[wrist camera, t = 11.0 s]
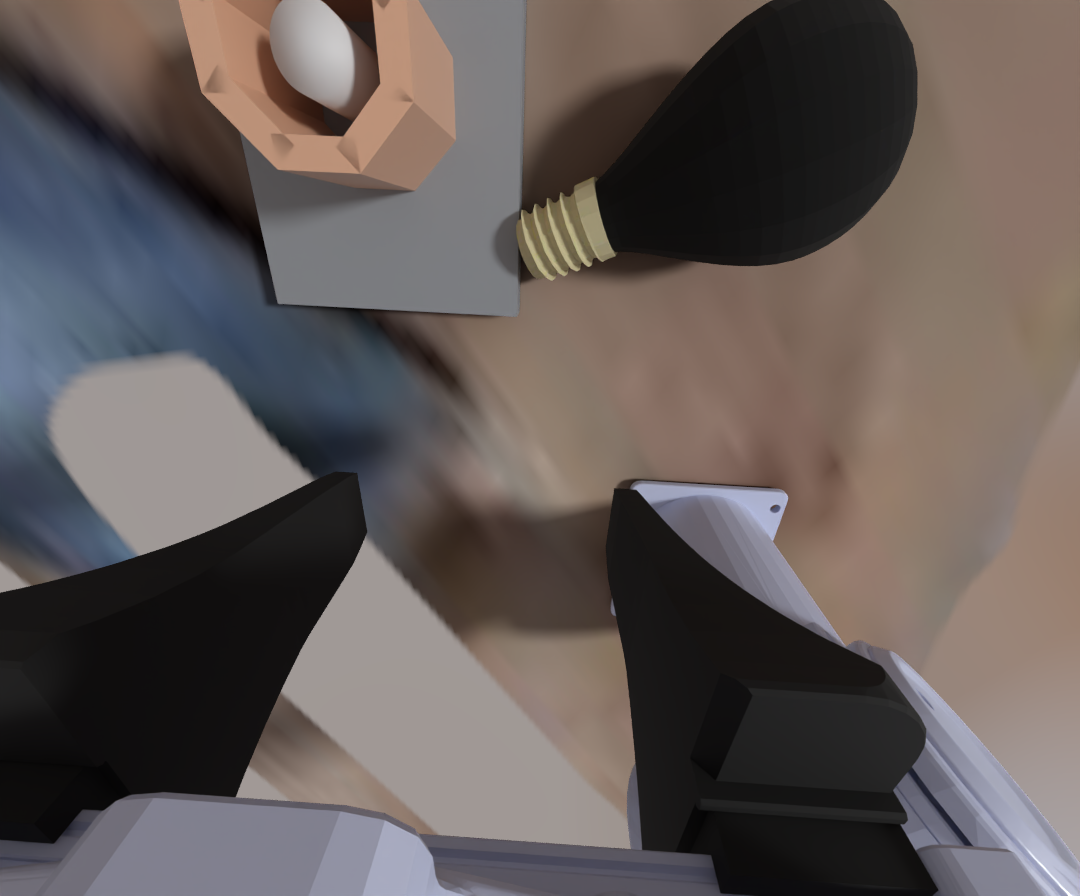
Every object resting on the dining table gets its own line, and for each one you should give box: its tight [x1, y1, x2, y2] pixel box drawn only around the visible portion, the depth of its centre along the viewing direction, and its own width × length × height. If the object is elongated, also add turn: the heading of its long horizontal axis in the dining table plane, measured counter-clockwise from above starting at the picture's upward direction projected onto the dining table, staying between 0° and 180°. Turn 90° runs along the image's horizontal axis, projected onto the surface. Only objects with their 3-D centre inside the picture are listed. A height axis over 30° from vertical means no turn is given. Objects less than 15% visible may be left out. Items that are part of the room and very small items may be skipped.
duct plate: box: [240, 0, 526, 317], centre depth 13 cm, size 14×10×5 cm
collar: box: [179, 0, 456, 191], centre depth 12 cm, size 6×5×5 cm
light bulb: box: [516, 0, 917, 281], centre depth 14 cm, size 7×7×12 cm
